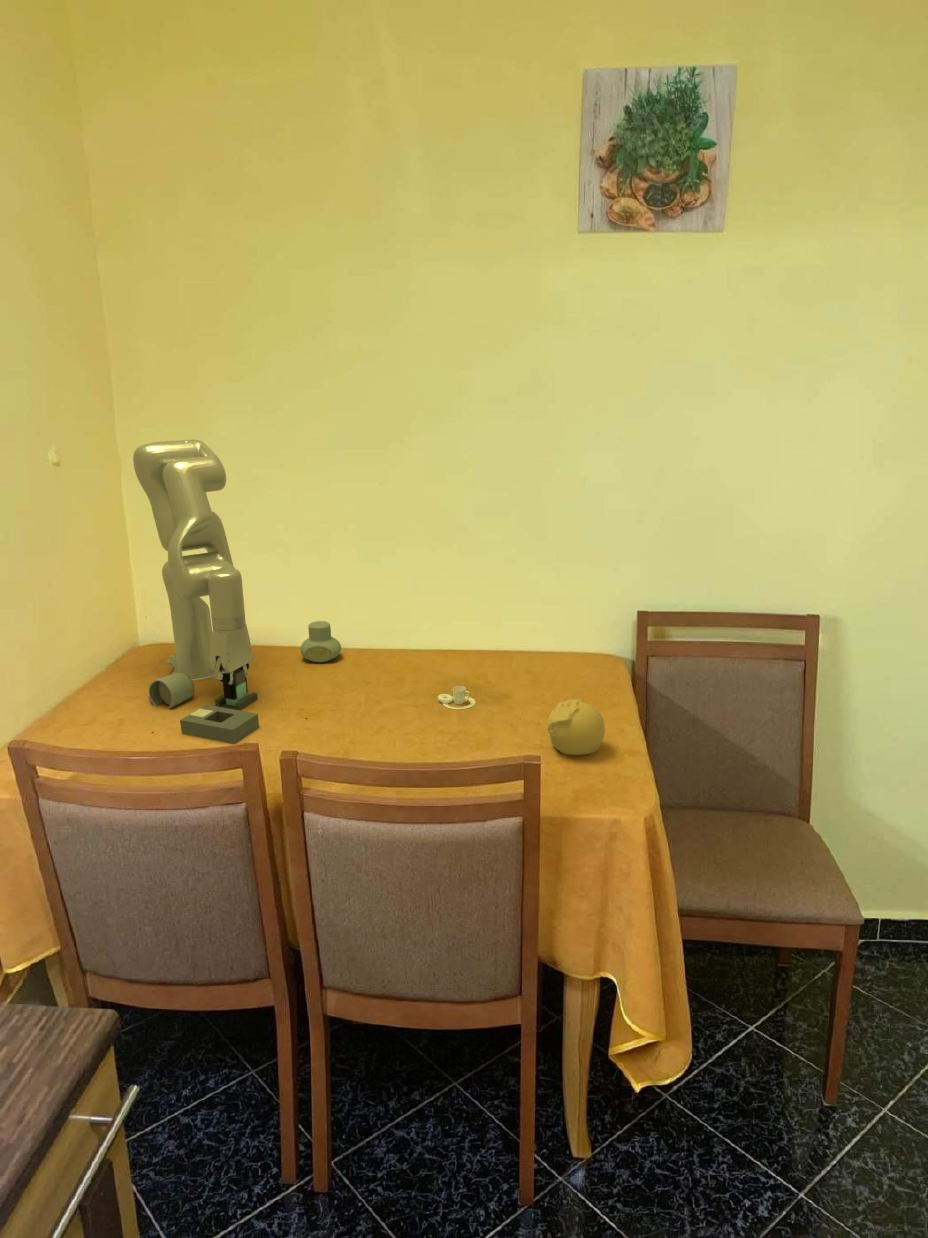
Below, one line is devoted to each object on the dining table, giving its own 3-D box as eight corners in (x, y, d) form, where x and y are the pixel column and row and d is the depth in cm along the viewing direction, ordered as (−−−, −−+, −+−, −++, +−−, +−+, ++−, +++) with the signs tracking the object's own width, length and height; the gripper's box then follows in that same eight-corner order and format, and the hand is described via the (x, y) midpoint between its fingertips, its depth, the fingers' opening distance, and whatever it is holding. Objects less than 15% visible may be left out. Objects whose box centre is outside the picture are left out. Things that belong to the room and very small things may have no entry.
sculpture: (552, 734, 190) (553, 688, 187) (607, 740, 187) (609, 694, 183) (541, 757, 180) (542, 709, 176) (599, 764, 176) (601, 716, 173)
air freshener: (298, 664, 233) (296, 629, 230) (304, 653, 240) (301, 619, 237) (339, 664, 233) (337, 628, 230) (343, 653, 241) (341, 619, 237)
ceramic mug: (198, 700, 210) (194, 671, 207) (173, 713, 203) (169, 682, 200) (165, 694, 214) (161, 665, 212) (140, 706, 207) (135, 676, 205)
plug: (226, 704, 205) (223, 672, 203) (235, 698, 208) (232, 667, 206) (238, 706, 204) (235, 674, 202) (247, 701, 207) (244, 669, 205)
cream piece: (433, 704, 207) (432, 688, 206) (455, 694, 213) (455, 678, 212) (459, 714, 202) (459, 697, 200) (482, 703, 207) (482, 688, 206)
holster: (215, 709, 205) (214, 699, 204) (233, 698, 211) (233, 689, 210) (240, 713, 202) (239, 704, 201) (258, 702, 208) (257, 693, 208)
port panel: (182, 736, 191) (179, 719, 189) (208, 720, 199) (206, 703, 197) (234, 747, 186) (232, 729, 184) (259, 730, 193) (257, 712, 192)
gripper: (237, 610, 209) (244, 681, 214) (192, 630, 194) (200, 706, 200) (263, 613, 206) (269, 685, 212) (219, 634, 191) (227, 711, 197)
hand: (236, 694), depth 206 cm, fingers closed on plug, 3 cm apart
